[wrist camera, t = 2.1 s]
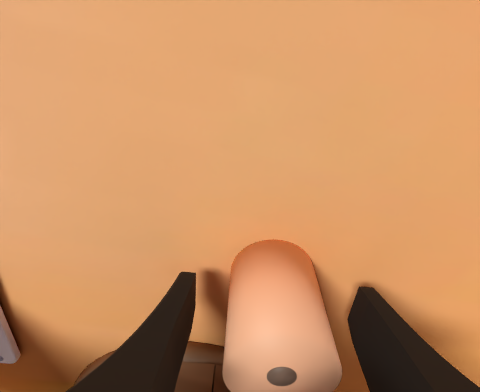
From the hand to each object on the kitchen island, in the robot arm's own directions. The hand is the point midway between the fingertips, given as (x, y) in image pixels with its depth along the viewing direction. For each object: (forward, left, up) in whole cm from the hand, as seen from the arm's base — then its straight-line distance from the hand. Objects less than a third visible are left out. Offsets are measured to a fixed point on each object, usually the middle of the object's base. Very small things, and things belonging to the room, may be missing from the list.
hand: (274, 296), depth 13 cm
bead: (0, 0, -2) cm, 2 cm away
